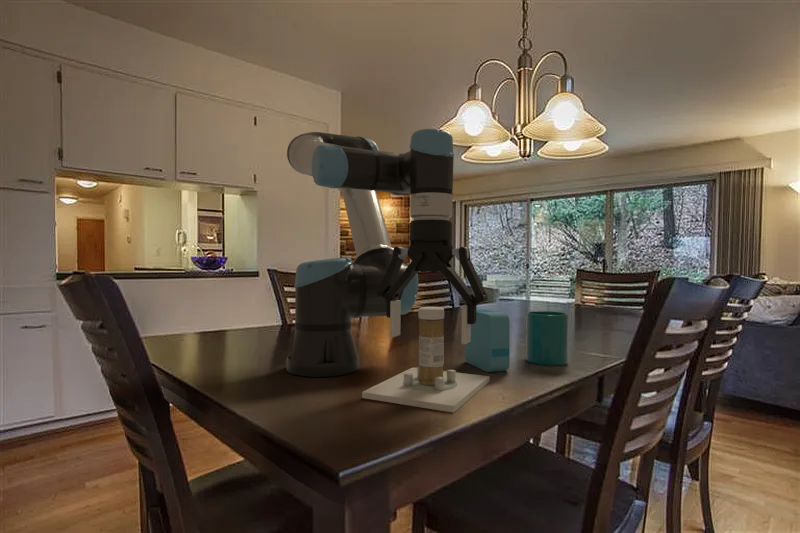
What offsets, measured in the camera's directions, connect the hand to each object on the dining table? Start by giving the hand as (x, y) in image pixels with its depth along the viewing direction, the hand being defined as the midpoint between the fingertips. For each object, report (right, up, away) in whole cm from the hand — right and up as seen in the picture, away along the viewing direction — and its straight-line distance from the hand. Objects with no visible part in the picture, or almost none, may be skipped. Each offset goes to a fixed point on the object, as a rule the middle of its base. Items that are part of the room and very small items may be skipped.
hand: (429, 339), depth 80 cm
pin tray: (0, -9, 0) cm, 9 cm away
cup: (+28, -9, +24) cm, 38 cm away
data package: (+13, -9, +18) cm, 24 cm away
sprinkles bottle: (0, -8, 0) cm, 8 cm away
